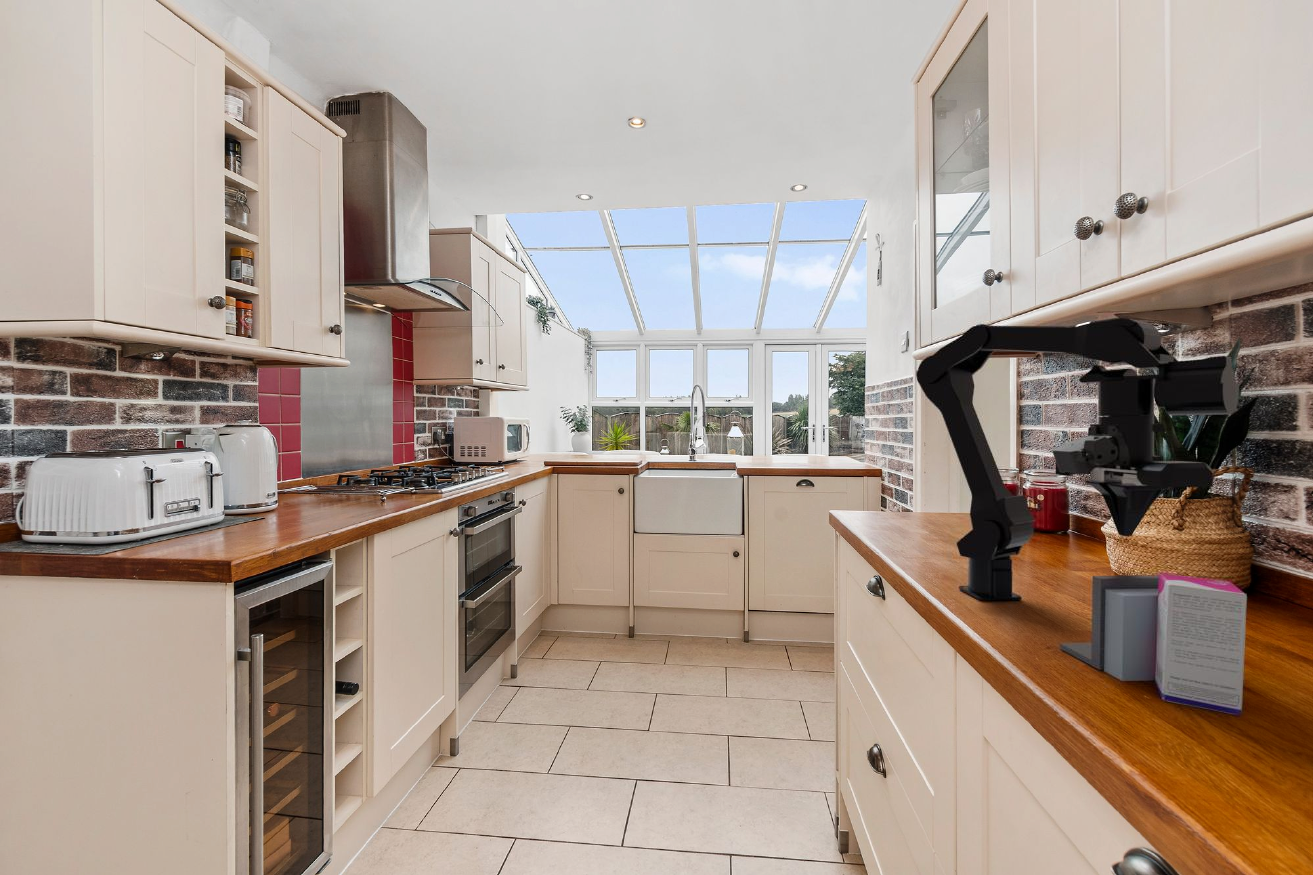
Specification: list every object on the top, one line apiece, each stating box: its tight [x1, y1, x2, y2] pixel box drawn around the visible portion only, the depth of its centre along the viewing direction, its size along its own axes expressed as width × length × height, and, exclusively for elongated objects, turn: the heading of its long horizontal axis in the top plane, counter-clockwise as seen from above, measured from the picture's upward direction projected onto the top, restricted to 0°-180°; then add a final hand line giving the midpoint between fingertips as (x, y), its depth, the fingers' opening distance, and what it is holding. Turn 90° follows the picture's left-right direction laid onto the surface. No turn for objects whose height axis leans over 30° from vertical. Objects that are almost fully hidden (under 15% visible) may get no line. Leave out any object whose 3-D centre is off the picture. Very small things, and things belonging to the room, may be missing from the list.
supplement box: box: [1153, 572, 1248, 716], centre depth 59 cm, size 6×6×12 cm
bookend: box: [1058, 574, 1159, 671], centre depth 68 cm, size 6×9×10 cm
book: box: [1103, 589, 1158, 682], centre depth 64 cm, size 2×8×9 cm, turn 92°
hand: (1125, 535), depth 78 cm, fingers closed
